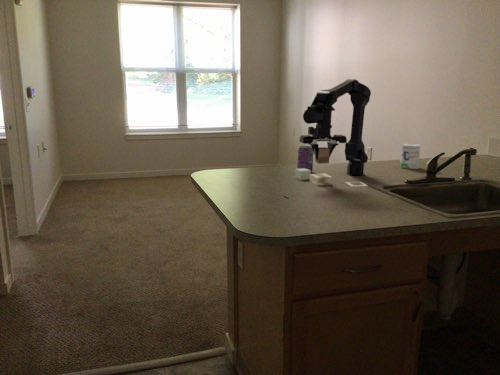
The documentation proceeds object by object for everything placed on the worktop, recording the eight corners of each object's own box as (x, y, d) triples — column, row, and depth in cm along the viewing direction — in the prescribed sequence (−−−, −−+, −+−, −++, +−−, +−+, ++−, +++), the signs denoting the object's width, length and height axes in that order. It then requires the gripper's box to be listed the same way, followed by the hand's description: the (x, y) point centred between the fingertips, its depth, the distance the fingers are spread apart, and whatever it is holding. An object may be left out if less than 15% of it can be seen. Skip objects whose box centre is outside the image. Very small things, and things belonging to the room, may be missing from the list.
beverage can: (312, 170, 213) (313, 145, 210) (312, 173, 206) (313, 148, 203) (297, 170, 214) (298, 145, 211) (297, 173, 207) (298, 147, 204)
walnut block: (328, 163, 185) (329, 149, 184) (318, 163, 184) (319, 149, 183) (325, 161, 190) (325, 147, 188) (315, 161, 189) (315, 147, 187)
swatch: (360, 182, 191) (360, 181, 191) (367, 186, 184) (367, 185, 184) (345, 182, 190) (345, 181, 189) (351, 186, 183) (352, 185, 183)
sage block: (304, 176, 200) (304, 168, 199) (310, 179, 196) (310, 170, 195) (294, 177, 198) (295, 169, 197) (300, 180, 194) (300, 171, 193)
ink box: (417, 167, 225) (420, 144, 223) (418, 169, 221) (420, 145, 218) (399, 166, 228) (402, 143, 225) (400, 168, 223) (402, 144, 220)
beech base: (324, 181, 193) (324, 173, 193) (331, 185, 187) (332, 176, 186) (309, 182, 191) (309, 174, 191) (316, 185, 185) (316, 177, 184)
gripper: (338, 120, 192) (335, 155, 196) (296, 120, 189) (295, 156, 193) (348, 122, 182) (345, 160, 185) (304, 123, 178) (302, 161, 182)
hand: (322, 159), depth 187 cm, fingers closed on walnut block, 4 cm apart
